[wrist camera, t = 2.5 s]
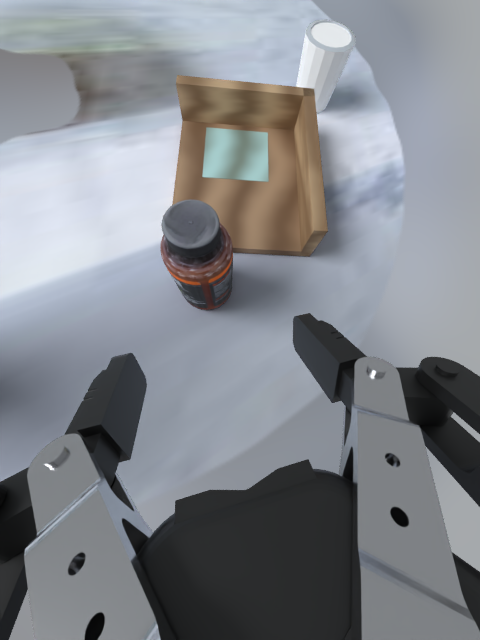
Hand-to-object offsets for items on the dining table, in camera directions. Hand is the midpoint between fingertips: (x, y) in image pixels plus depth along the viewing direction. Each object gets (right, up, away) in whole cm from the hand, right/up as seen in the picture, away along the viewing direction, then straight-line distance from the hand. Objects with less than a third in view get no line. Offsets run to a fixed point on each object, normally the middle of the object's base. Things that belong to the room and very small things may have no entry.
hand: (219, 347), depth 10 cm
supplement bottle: (-3, +5, +15) cm, 16 cm away
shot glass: (+13, +38, +24) cm, 46 cm away
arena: (+1, +21, +19) cm, 28 cm away
